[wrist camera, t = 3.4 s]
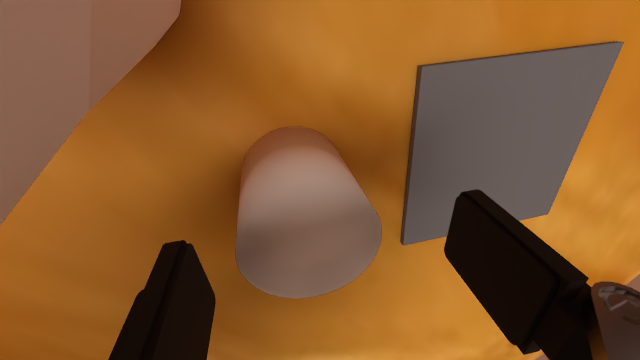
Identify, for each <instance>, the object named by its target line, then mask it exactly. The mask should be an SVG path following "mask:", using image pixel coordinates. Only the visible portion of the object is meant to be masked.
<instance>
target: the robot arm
mask: <svg viewBox="0 0 640 360" xmlns="http://www.w3.org/2000/svg"><path fill="white" fill-rule="evenodd" d="M444 252H445V255H446V257H447V259H448V260H449V262H450V263H451V264H452V266H453V267H454V268H455V270H456V271H457V272H458V274H459V275H460V276H461V278H462V279H463V280H464V282H465V283H466V284H467V286H468V287H469V288H470V290H471V291H472V292H473V294H474V295H475V296H476V298H477V299H478V300H479V302H480V303H481V304H482V306H483V307H484V308H485V310H486V311H487V312H488V314H489V315H490V316H491V318H492V319H493V320H494V322H495V323H496V324H497V326H498V327H499V328H500V330H501V331H502V332H503V334H504V335H505V336H506V338H507V339H508V340H509V341H510V342H511V343H512V344H513V345H517V347H518V348H519V349H520V351H521V352H522V353H523V355H525V354H529V353H533V352H537V351H540V349H541V350H542V351H543V352H544V354H545V355H546V356H547V358H548V360H640V292H638V291H637V290H635V289H633V288H631V287H628V286H625V285H622V284H619V283H614V282H598V283H595V284H594V285H593V286H592V287H590V286H589V285H588V284H587V283H586V282H587V280H588V279H589V278H588V277H587V276H586V275H584V274H583V273H582V272H581V271H579V270H578V269H577V268H576V267H574V266H573V265H572V264H571V263H570V262H568V261H567V260H566V259H565V258H563V257H562V256H561V255H560V254H559V253H557V252H556V251H555V250H554V249H552V248H551V247H550V246H549V245H547V244H546V243H545V242H544V241H543V240H541V239H540V238H539V237H538V236H536V235H535V234H534V233H533V232H532V231H530V230H529V229H528V228H527V227H525V226H524V225H523V224H522V223H521V222H519V221H518V220H517V219H516V218H514V217H513V216H512V215H511V214H509V213H508V212H507V211H506V210H505V209H503V208H502V207H501V206H500V205H498V204H497V203H496V202H495V201H494V200H492V199H491V198H490V197H489V196H487V195H486V194H485V193H484V192H482V191H481V190H479V189H475V190H470V191H464V192H461V193H460V195H459V197H457V198H456V200H455V204H454V209H453V213H452V217H451V222H450V226H449V230H448V234H447V239H446V243H445V247H444ZM214 309H215V295H214V292H213V290H212V287H211V285H210V283H209V281H208V278H207V276H206V274H205V272H204V269H203V267H202V265H201V263H200V261H199V258H198V256H197V254H196V252H195V249H194V247H193V245H192V244H187V243H186V241H184V240H181V241H175V242H170V243H165V244H164V245H163V246H162V248H161V251H160V253H159V255H158V258H157V260H156V262H155V265H154V267H153V270H152V272H151V274H150V277H149V279H148V281H147V284H146V286H145V288H144V290H141V291H140V292H139V293H138V295H137V297H136V298H135V301H134V303H133V305H132V307H131V310H130V312H129V314H128V316H127V319H126V321H125V323H124V325H123V328H122V330H121V332H120V334H119V337H118V339H117V341H116V344H115V346H114V348H113V350H112V353H111V355H110V357H109V359H108V360H206V359H207V353H208V347H209V341H210V334H211V328H212V322H213V316H214Z"/></svg>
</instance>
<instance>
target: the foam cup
mask: <svg viewBox="0 0 640 360" xmlns="http://www.w3.org/2000/svg"><path fill="white" fill-rule="evenodd" d="M180 7H181V0H0V225H1V224H2V222H3V221H4V220H5V219H6V217H7V216H8V215H9V213H10V212H11V211H12V209H13V208H14V207H15V206H16V204H17V203H18V202H19V200H20V199H21V198H22V196H23V195H24V194H25V193H26V191H27V190H28V189H29V187H30V186H31V185H32V183H33V182H34V181H35V180H36V178H37V177H38V176H39V174H40V173H41V172H42V170H43V169H44V168H45V167H46V165H47V164H48V163H49V161H50V160H51V159H52V157H53V156H54V155H55V154H56V152H57V151H58V150H59V148H60V147H61V146H62V144H63V143H64V142H65V141H66V139H67V138H68V137H69V135H70V134H71V133H72V131H73V130H74V129H75V128H76V126H77V125H78V124H79V122H80V121H81V120H82V118H83V117H84V116H85V115H86V114H87V113H88V112H89V111H90V110H91V109H92V108H93V107H94V106H95V105H96V104H97V103H98V102H99V101H100V100H101V99H102V98H103V97H104V96H105V95H106V94H107V93H108V92H109V91H110V90H111V89H112V88H113V87H114V86H115V85H116V84H117V83H118V82H119V81H120V80H121V79H122V78H123V77H124V76H125V75H126V74H127V73H128V72H129V71H130V70H131V69H132V68H133V67H134V66H135V65H136V64H137V63H138V62H139V61H141V60H142V59H143V58H144V57H145V56H146V55H147V54H148V53H149V52H150V51H151V50H152V49H153V48H154V47H155V46H156V44H157V43H158V42H159V41H160V39H161V38H162V37H163V35H164V34H165V33H166V32H167V30H168V29H169V28H170V27H171V25H172V24H173V23H174V22H175V20H176V19H177V18H178V16H179V14H180Z"/></svg>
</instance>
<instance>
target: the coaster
mask: <svg viewBox="0 0 640 360" xmlns="http://www.w3.org/2000/svg"><path fill="white" fill-rule="evenodd" d="M623 43H624V42H608V43H600V44H592V45H584V46H575V47H567V48H559V49H551V50H543V51H535V52H526V53H518V54H510V55H502V56H494V57H486V58H477V59H469V60H461V61H453V62H445V63H437V64H429V65H420V66H418V71H417V81H416V91H415V101H414V112H413V122H412V132H411V142H410V152H409V162H408V172H407V182H406V192H405V202H404V213H403V223H402V233H401V243H402V245H408V244H413V243H417V242H422V241H426V240H431V239H436V238H440V237H445V236H447V234H448V230H449V226H450V222H451V217H452V213H453V209H454V204H455V200H456V198H457V197H459V195H460V193H461V192H464V191H470V190H475V189H479V190H481V191H482V192H484V193H485V194H486V195H487V196H489V197H490V198H491V199H492V200H494V201H495V202H496V203H497V204H498V205H500V206H501V207H502V208H503V209H505V210H506V211H507V212H508V213H509V214H511V215H512V216H513V217H514V218H516V219H517V220H518V221H519V220H524V219H528V218H533V217H538V216H542V215H547V214H548V213H549V211H550V209H551V206H552V204H553V202H554V200H555V197H556V195H557V193H558V190H559V188H560V186H561V184H562V181H563V179H564V177H565V175H566V172H567V170H568V168H569V166H570V163H571V161H572V159H573V156H574V154H575V152H576V150H577V147H578V145H579V143H580V141H581V138H582V136H583V134H584V132H585V129H586V127H587V125H588V122H589V120H590V118H591V116H592V113H593V111H594V109H595V107H596V104H597V102H598V100H599V98H600V95H601V93H602V91H603V88H604V86H605V84H606V82H607V79H608V77H609V75H610V73H611V70H612V68H613V66H614V64H615V61H616V59H617V57H618V55H619V52H620V50H621V48H622V45H623Z"/></svg>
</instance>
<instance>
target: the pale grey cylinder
mask: <svg viewBox="0 0 640 360" xmlns="http://www.w3.org/2000/svg"><path fill="white" fill-rule="evenodd" d="M381 236H382V229H381V223H380V219H379V217H378V214H377V213H376V211H375V210H374V208H373V206H372V205H371V203H370V202H369V200H368V198H367V197H366V195H365V194H364V192H363V191H362V189H361V187H360V186H359V184H358V183H357V181H356V180H355V178H354V176H353V175H352V173H351V172H350V170H349V169H348V167H347V165H346V164H345V162H344V161H343V159H342V158H341V156H340V154H339V153H338V151H337V150H336V148H335V147H334V145H333V144H332V143H331V141H330V140H329V139H327V138H326V137H325V136H324V135H322V134H321V133H319V132H317V131H315V130H312V129H309V128H304V127H294V126H293V127H284V128H279V129H276V130H273V131H271V132H269V133H267V134H265V135H264V136H262V137H261V138H259V139H258V140H257V141H256V142H255V143H254V144H253V145H252V146H251V148H250V149H249V151H248V152H247V154H246V156H245V158H244V161H243V165H242V173H241V185H240V197H239V209H238V221H237V233H236V245H235V258H236V262H237V265H238V268H239V270H240V272H241V273H242V275H243V276H244V278H245V279H246V280H247V281H248V282H249V283H250V284H252V285H253V286H254V287H256V288H257V289H259V290H261V291H263V292H265V293H267V294H270V295H274V296H277V297H283V298H310V297H315V296H320V295H323V294H327V293H329V292H332V291H335V290H337V289H339V288H341V287H343V286H345V285H346V284H348V283H350V282H351V281H353V280H354V279H355V278H357V277H358V276H359V275H360V274H361V273H362V272H363V271H364V270H365V269H366V268H367V267H368V266H369V265H370V263H371V262H372V261H373V259H374V257H375V256H376V254H377V251H378V249H379V246H380V242H381Z"/></svg>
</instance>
